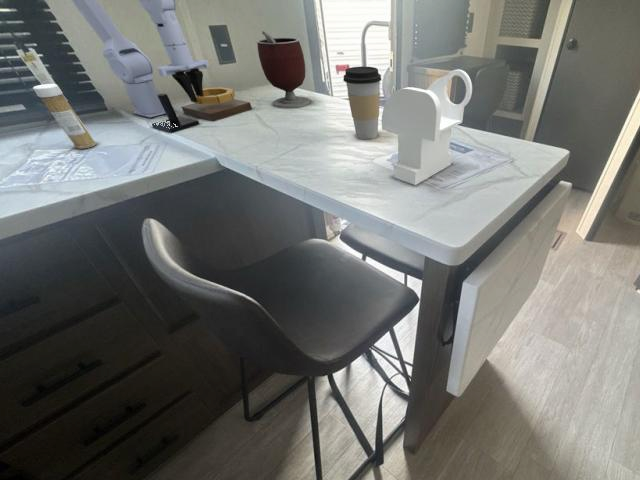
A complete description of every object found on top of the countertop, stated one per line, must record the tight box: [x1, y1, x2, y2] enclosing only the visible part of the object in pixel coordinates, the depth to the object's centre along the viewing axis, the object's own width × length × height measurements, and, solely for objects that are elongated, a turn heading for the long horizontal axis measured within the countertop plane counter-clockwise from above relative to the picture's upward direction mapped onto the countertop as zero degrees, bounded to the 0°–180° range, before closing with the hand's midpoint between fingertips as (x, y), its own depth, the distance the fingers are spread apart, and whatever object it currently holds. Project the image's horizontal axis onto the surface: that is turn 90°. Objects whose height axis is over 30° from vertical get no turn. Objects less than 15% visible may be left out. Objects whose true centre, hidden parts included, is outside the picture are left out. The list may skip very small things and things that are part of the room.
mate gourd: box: [256, 30, 310, 109], centre depth 102 cm, size 16×14×20 cm
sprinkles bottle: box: [32, 83, 97, 150], centre depth 77 cm, size 5×5×14 cm
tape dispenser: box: [381, 68, 473, 186], centre depth 64 cm, size 14×13×18 cm
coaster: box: [180, 98, 253, 122], centre depth 103 cm, size 15×15×2 cm
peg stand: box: [151, 93, 200, 134], centre depth 90 cm, size 9×9×8 cm
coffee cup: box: [343, 66, 382, 140], centre depth 81 cm, size 9×9×15 cm
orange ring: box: [189, 86, 236, 104], centre depth 100 cm, size 13×13×2 cm
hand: (197, 100), depth 97 cm, fingers closed on orange ring, 2 cm apart
